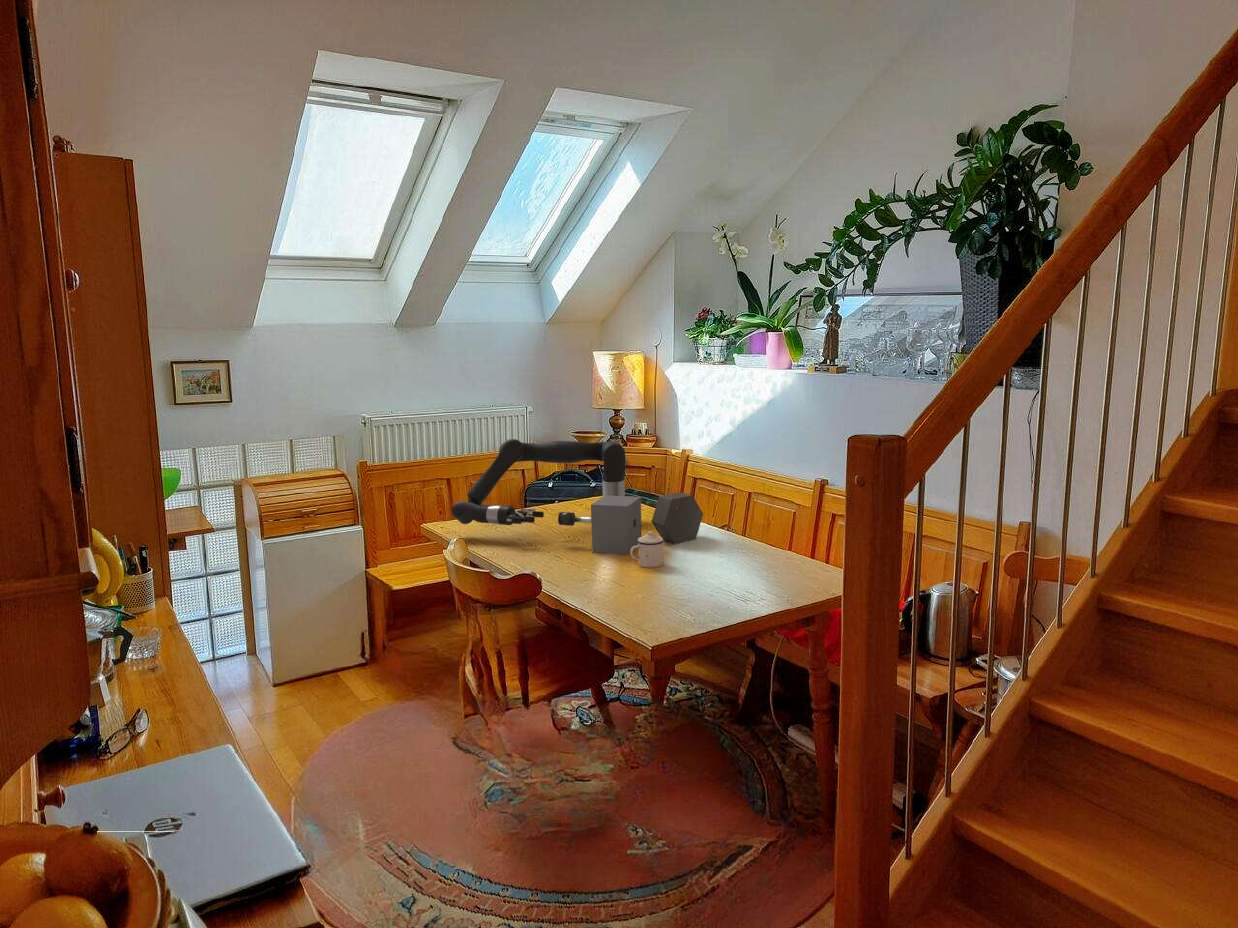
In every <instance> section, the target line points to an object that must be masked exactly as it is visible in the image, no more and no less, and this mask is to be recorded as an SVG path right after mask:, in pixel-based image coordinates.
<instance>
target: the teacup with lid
mask: <svg viewBox="0 0 1238 928" xmlns="http://www.w3.org/2000/svg"><path fill="white" fill-rule="evenodd" d="M664 541H665V540H663V538H662V537H661V536H660V535H656V534H654V531H650V530H649V531H647V533H646V534H645V535H642V537H640V538H638V541H637V542H638V545H636V546H633V547H632V548H631V550H630V554H629V555H630V556H631V557H632V559H633V560H637V561H638V565H639V566H640V567H643V568H649V569H651V568H660V567H661V566H663V565H664ZM635 548H636V549H637V551H638V554H637V555H638V557H637V556H635V555H634V551H635V550H634V549H635ZM633 550H634V551H633Z"/></svg>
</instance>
